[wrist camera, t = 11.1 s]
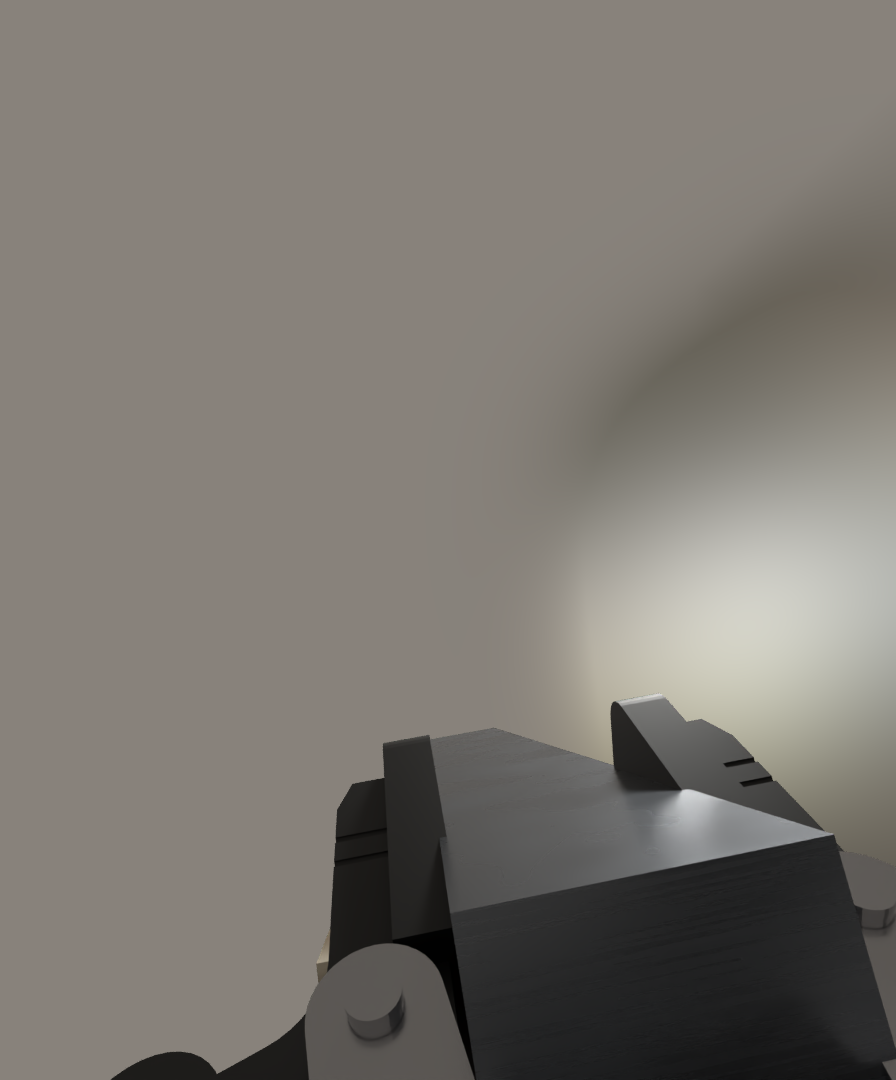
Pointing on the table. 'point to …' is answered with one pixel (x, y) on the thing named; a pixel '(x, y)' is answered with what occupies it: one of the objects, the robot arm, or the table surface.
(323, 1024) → the robot arm
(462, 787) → the block
